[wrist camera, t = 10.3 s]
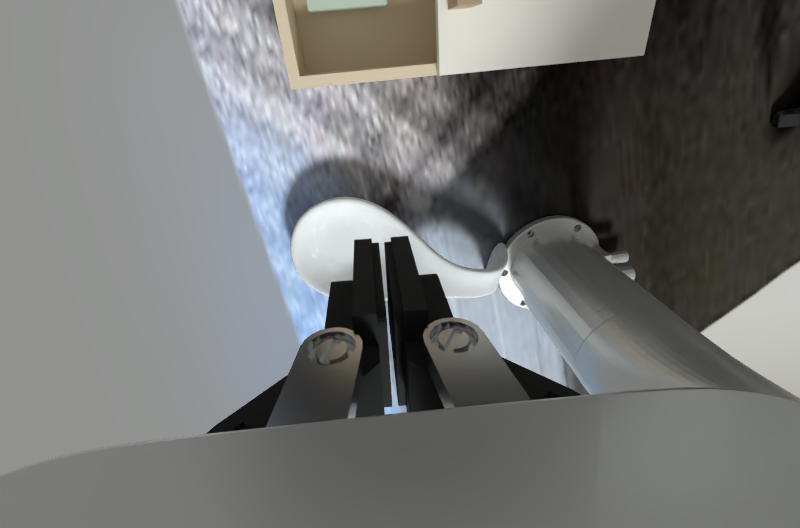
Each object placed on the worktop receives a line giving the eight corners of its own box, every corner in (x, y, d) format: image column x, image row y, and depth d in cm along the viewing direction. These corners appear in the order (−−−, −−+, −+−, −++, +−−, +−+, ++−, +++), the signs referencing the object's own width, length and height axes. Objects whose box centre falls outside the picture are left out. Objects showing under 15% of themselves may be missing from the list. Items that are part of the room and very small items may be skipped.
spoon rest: (291, 277, 42) (281, 315, 36) (297, 177, 37) (287, 202, 31) (483, 296, 47) (503, 333, 41) (514, 210, 42) (542, 238, 35)
